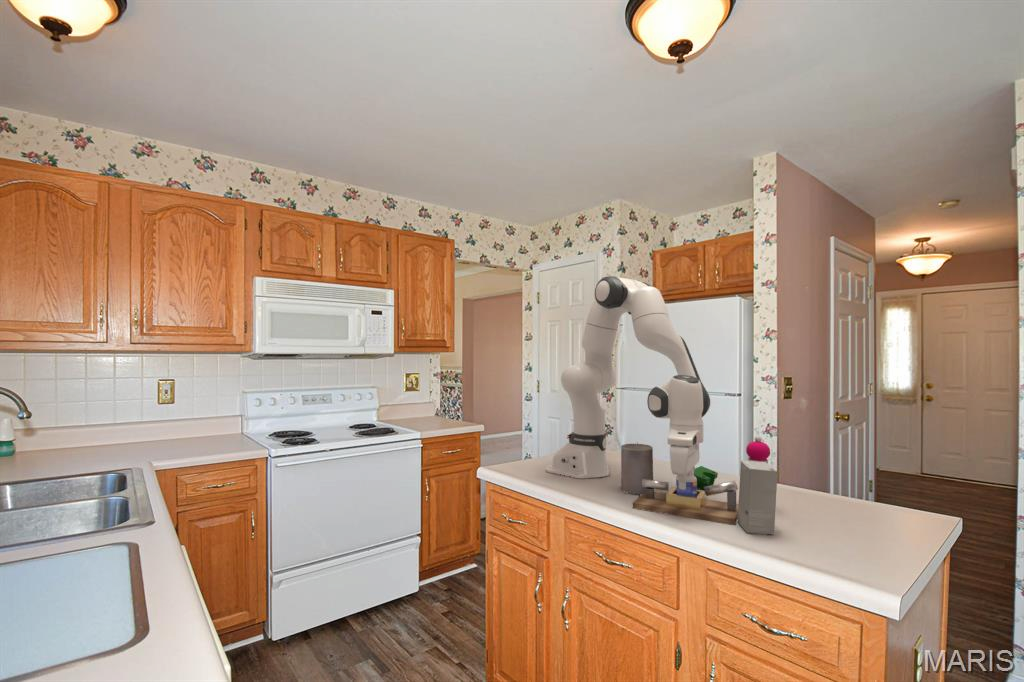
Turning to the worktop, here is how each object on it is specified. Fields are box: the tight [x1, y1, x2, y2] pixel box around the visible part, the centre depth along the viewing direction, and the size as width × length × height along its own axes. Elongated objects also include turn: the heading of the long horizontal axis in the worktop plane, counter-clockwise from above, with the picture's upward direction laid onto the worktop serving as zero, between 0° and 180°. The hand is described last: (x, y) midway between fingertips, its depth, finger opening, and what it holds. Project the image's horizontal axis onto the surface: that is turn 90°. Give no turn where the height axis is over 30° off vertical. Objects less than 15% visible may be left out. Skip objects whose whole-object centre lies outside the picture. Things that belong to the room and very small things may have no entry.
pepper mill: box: [745, 435, 771, 464], centre depth 138 cm, size 7×7×20 cm
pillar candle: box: [620, 442, 654, 495], centre depth 155 cm, size 10×10×15 cm
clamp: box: [694, 465, 719, 491], centre depth 158 cm, size 12×6×9 cm, turn 133°
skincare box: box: [737, 459, 778, 536], centre depth 122 cm, size 8×7×16 cm
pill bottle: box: [675, 468, 698, 497], centre depth 137 cm, size 5×5×10 cm
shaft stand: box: [631, 479, 739, 526], centre depth 137 cm, size 26×14×9 cm, turn 60°
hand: (686, 484), depth 137 cm, fingers open, 8 cm apart
